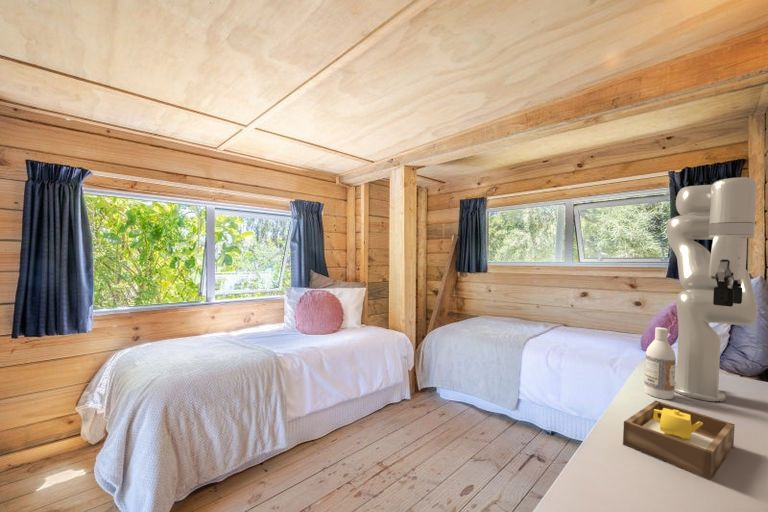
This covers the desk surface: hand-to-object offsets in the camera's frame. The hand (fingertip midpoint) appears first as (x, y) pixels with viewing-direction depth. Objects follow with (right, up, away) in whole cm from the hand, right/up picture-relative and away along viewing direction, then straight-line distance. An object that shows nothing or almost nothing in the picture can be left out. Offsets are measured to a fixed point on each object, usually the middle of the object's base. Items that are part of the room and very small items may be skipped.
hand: (727, 304), depth 81 cm
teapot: (-18, -27, -7) cm, 33 cm away
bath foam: (+1, -30, +22) cm, 37 cm away
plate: (-19, -30, -8) cm, 36 cm away
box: (-17, -30, -6) cm, 35 cm away
